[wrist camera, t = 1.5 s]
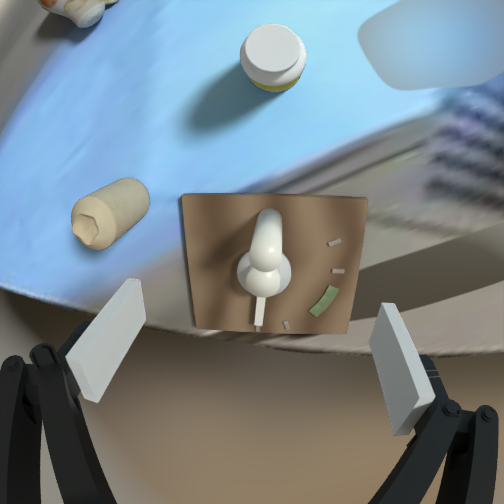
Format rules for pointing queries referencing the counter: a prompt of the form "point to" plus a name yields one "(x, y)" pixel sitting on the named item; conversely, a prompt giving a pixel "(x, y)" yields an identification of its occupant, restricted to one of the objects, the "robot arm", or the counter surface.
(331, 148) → the counter surface
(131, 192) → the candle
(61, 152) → the counter surface
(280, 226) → the handle
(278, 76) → the supplement bottle
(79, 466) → the robot arm
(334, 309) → the board
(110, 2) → the mug
